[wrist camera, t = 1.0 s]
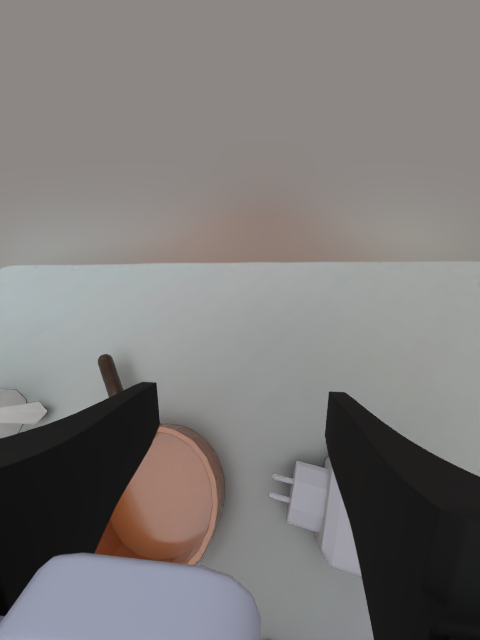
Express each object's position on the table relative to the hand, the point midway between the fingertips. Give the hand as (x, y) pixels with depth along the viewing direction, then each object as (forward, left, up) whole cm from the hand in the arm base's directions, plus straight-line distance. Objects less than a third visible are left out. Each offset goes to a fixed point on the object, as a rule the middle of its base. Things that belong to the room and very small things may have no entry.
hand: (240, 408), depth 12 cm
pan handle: (+8, +14, -20) cm, 26 cm away
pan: (-3, +14, -23) cm, 27 cm away
